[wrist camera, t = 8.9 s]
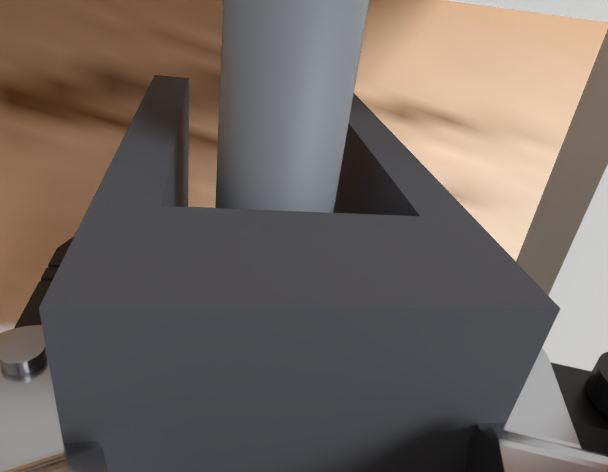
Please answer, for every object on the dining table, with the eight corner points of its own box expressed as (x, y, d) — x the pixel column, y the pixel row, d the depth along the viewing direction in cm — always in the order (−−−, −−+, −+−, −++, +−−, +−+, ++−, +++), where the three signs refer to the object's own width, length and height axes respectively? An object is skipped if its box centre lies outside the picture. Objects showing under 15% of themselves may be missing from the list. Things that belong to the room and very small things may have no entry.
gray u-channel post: (154, 75, 12) (39, 308, 4) (353, 92, 13) (560, 308, 5) (160, 279, 15) (98, 638, 7) (321, 281, 16) (422, 599, 8)
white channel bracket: (-20, -253, 14) (-1347, -1389, 2) (535, -141, 18) (1216, -339, 6) (61, 302, 24) (-96, 658, 12) (409, 304, 27) (559, 580, 15)
